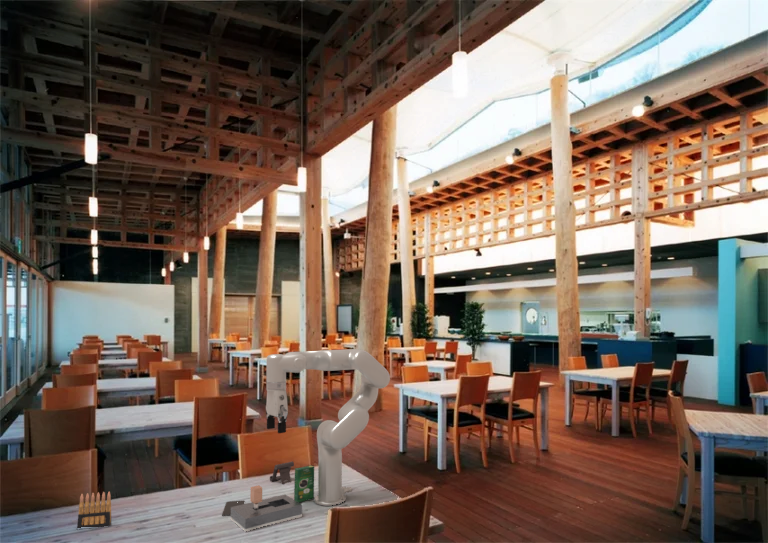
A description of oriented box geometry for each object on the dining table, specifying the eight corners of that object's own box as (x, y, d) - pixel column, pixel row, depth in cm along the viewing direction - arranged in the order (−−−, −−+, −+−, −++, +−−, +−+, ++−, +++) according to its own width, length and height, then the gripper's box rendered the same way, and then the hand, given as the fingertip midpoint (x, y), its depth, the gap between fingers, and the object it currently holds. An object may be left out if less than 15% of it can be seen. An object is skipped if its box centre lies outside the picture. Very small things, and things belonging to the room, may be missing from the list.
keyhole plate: (285, 506, 204) (285, 494, 204) (301, 516, 192) (301, 504, 193) (230, 519, 190) (230, 507, 191) (245, 532, 179) (245, 518, 180)
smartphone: (226, 503, 208) (221, 517, 193) (226, 501, 208) (221, 515, 194) (245, 502, 209) (241, 516, 195) (245, 500, 210) (241, 513, 195)
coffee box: (310, 497, 213) (311, 464, 215) (314, 498, 211) (314, 465, 212) (293, 501, 208) (293, 468, 210) (297, 503, 206) (297, 469, 207)
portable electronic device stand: (287, 477, 240) (287, 458, 241) (295, 481, 234) (295, 462, 235) (269, 481, 235) (269, 462, 235) (278, 485, 229) (278, 466, 229)
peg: (259, 514, 192) (259, 484, 193) (264, 518, 189) (264, 487, 190) (247, 517, 190) (248, 487, 190) (252, 521, 186) (253, 490, 187)
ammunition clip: (111, 524, 187) (112, 490, 188) (110, 526, 185) (111, 491, 186) (78, 527, 185) (79, 492, 186) (76, 529, 183) (78, 494, 184)
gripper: (295, 387, 198) (295, 433, 197) (275, 383, 212) (275, 425, 211) (277, 389, 194) (277, 436, 192) (258, 384, 207) (258, 428, 206)
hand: (276, 430), depth 201 cm, fingers open, 9 cm apart
